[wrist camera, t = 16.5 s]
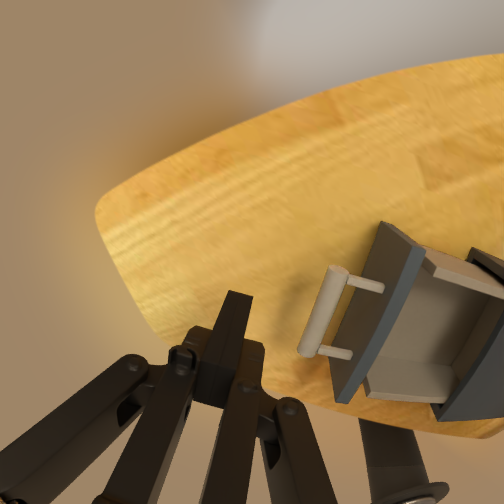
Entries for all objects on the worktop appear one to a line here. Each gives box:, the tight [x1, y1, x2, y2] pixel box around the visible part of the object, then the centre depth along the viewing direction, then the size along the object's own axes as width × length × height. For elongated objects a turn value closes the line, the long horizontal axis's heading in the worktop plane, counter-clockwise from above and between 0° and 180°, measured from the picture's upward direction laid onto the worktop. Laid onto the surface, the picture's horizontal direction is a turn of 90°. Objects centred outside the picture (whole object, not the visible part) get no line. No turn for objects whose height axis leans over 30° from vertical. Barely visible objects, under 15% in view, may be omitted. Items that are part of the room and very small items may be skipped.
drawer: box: [297, 221, 504, 404], centre depth 22 cm, size 20×14×7 cm
